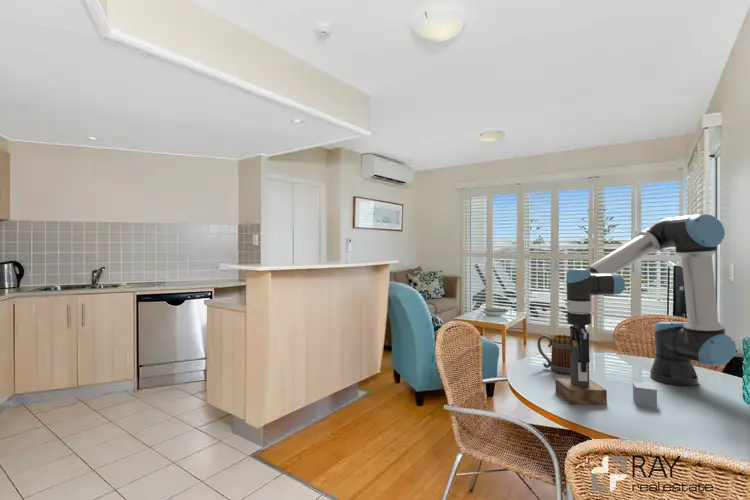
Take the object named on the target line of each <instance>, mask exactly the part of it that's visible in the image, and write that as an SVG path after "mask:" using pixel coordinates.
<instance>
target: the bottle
mask: <svg viewBox="0 0 750 500" xmlns="http://www.w3.org/2000/svg"><path fill="white" fill-rule="evenodd" d="M572 342H573V345H572V349H573V350H574V351H573V352H571V375H570V378H571V383H572V384H573V385H576V386H583V387H585V386H589V379H590V362H588V363H587V372H588V381H579V380H578V362H577V361H578V360H579V354H578V345H577V342H576V341H575V340H573V341H572Z"/></svg>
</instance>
